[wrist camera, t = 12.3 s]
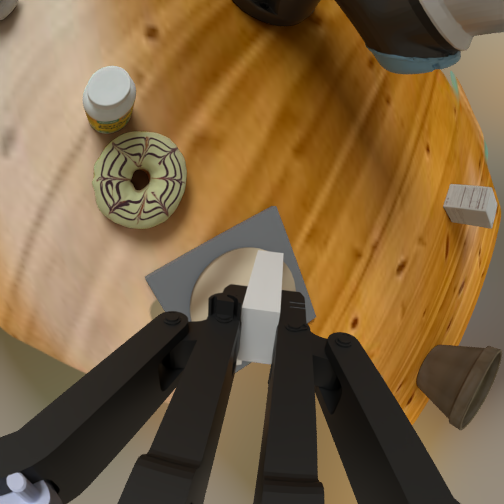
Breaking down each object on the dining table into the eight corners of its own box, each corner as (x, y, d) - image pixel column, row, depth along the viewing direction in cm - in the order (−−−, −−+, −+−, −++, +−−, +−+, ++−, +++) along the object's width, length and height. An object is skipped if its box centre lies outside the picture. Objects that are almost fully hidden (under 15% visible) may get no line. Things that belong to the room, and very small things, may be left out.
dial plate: (272, 205, 40) (277, 206, 39) (312, 314, 47) (317, 317, 46) (144, 276, 34) (145, 279, 33) (212, 382, 41) (215, 386, 40)
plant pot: (434, 320, 69) (498, 346, 50) (456, 333, 81) (506, 353, 62) (394, 401, 69) (451, 436, 50) (424, 398, 80) (471, 424, 61)
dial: (166, 322, 35) (187, 363, 26) (236, 223, 37) (279, 234, 28) (260, 371, 43) (296, 408, 34) (316, 291, 45) (363, 312, 36)
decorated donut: (91, 225, 31) (89, 228, 27) (100, 132, 29) (98, 125, 26) (177, 227, 35) (184, 231, 32) (185, 139, 34) (193, 133, 30)
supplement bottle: (123, 85, 29) (129, 50, 20) (138, 123, 30) (148, 98, 22) (81, 103, 27) (73, 73, 18) (96, 142, 29) (90, 123, 20)
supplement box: (458, 200, 65) (497, 205, 54) (451, 222, 64) (492, 230, 53) (450, 182, 62) (492, 186, 50) (442, 206, 61) (486, 211, 50)
